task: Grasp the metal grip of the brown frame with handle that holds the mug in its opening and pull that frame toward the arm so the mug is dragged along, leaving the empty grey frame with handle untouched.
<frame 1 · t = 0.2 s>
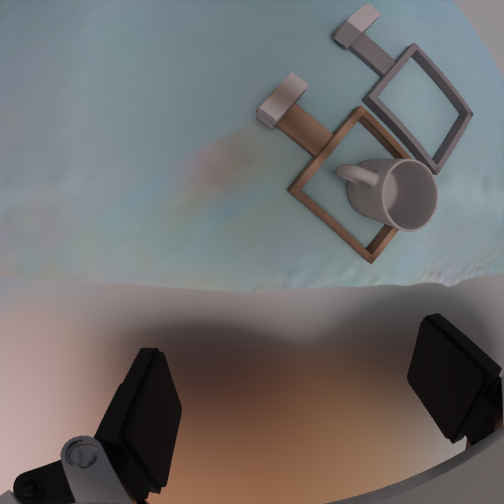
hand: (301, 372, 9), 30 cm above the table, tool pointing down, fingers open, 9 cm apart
grey frame with handle: (411, 78, 29), point 4 cm above the table, slide at 0.0 cm
mug: (361, 184, 37), resting in brown frame with handle
brown frame with handle: (347, 160, 32), point 4 cm above the table, slide at 0.0 cm
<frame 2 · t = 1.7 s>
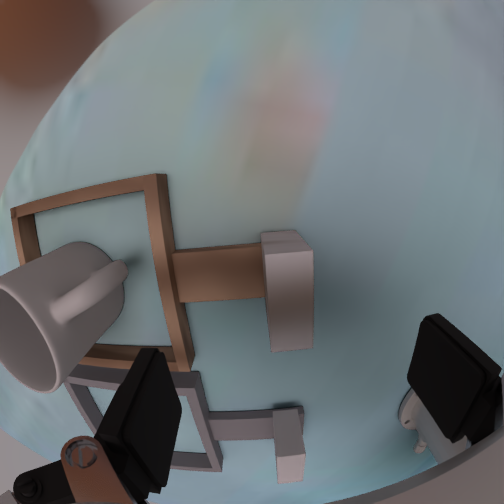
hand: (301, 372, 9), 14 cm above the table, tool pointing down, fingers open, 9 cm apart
grey frame with handle: (181, 445, 23), point 4 cm above the table, slide at 0.0 cm
mug: (99, 277, 22), resting in brown frame with handle
brown frame with handle: (129, 292, 18), point 4 cm above the table, slide at 0.0 cm
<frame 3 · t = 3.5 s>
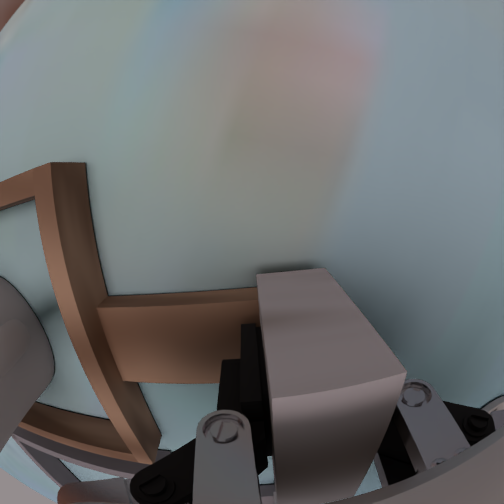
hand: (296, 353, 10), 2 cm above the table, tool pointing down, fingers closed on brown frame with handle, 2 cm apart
mug: (21, 324, 12), resting in brown frame with handle
brown frame with handle: (37, 370, 8), point 4 cm above the table, slide at 0.0 cm, touching gripper
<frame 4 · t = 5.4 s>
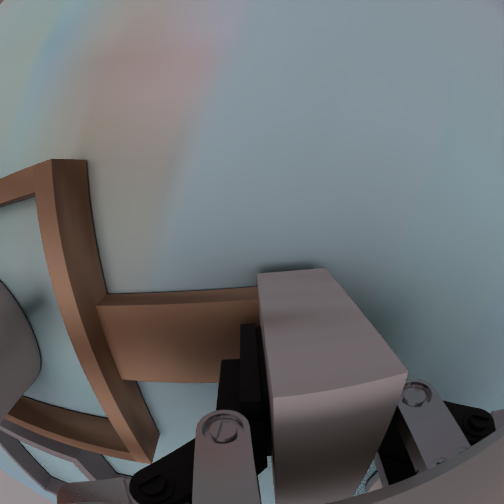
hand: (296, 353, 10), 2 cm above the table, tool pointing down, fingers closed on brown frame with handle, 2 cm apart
grey frame with handle: (90, 502, 13), point 4 cm above the table, slide at 0.0 cm
mug: (9, 320, 12), resting in brown frame with handle
brown frame with handle: (36, 368, 8), point 4 cm above the table, slide at 6.8 cm, touching gripper
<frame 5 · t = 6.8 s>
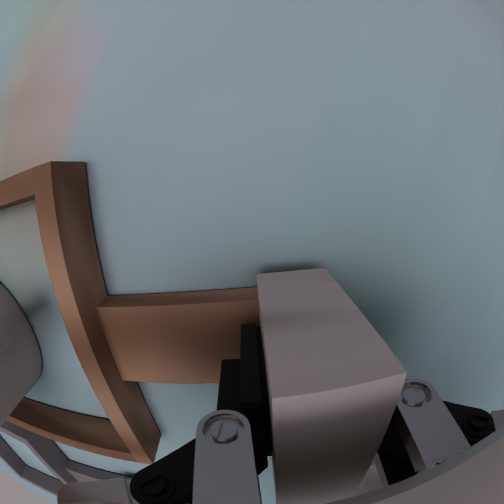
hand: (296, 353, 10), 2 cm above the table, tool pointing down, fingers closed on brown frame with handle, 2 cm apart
grey frame with handle: (47, 484, 13), point 4 cm above the table, slide at 0.0 cm
mug: (10, 322, 12), resting in brown frame with handle
brown frame with handle: (37, 370, 8), point 4 cm above the table, slide at 12.9 cm, touching gripper, mug
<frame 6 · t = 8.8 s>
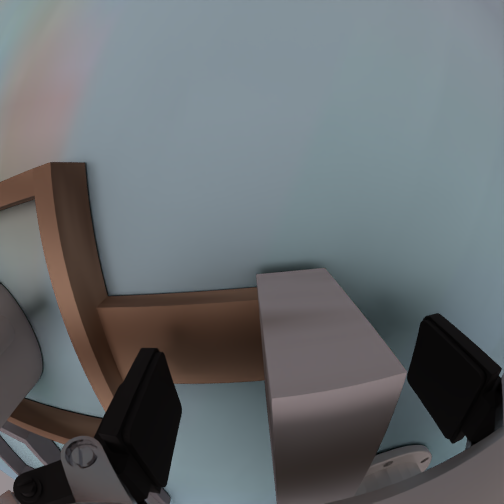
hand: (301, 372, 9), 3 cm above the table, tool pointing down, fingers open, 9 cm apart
grey frame with handle: (46, 484, 13), point 4 cm above the table, slide at 0.0 cm
mug: (11, 322, 12), resting in brown frame with handle
brown frame with handle: (37, 370, 8), point 4 cm above the table, slide at 13.0 cm
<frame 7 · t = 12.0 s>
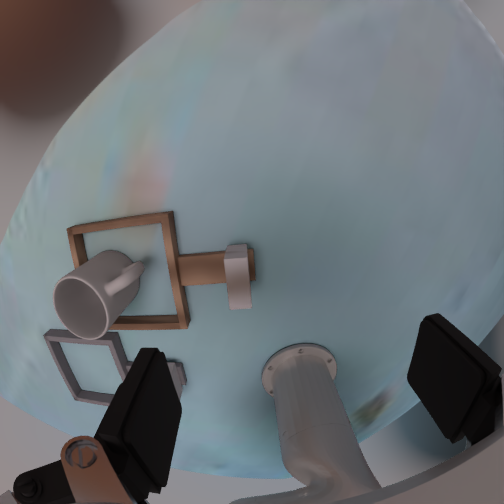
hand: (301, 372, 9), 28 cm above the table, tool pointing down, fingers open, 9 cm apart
grey frame with handle: (109, 381, 38), point 4 cm above the table, slide at 0.0 cm
mug: (123, 272, 37), resting in brown frame with handle
brown frame with handle: (153, 279, 34), point 4 cm above the table, slide at 13.0 cm
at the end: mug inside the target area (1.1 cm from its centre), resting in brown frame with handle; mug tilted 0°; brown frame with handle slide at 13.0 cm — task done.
